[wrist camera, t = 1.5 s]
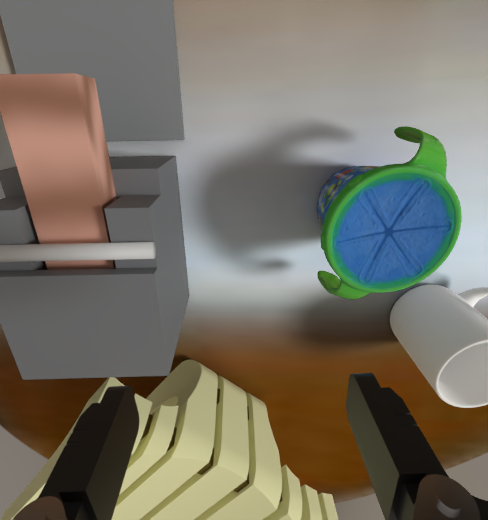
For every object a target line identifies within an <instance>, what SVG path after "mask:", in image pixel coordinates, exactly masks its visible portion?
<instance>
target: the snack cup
mask: <svg viewBox="0 0 488 520" xmlns="http://www.w3.org/2000/svg"><path fill="white" fill-rule="evenodd" d="M394 133H395V134H396V136H397V137H399V138H401V139H404V140H407V141H410V142H414V143H420V147H419V149H418V151H417V153H416V155H415V156H414V157H413V158H412V159H411V160H410V161H409V162H407V163H404V164H392V165H385V166H381V167H377V166H358V167H350V168H347V169H344V170H342V171H340V172H337V173H335V174H334V175H333V176H332V177H330V178H329V180H328V181H327V183H326V184H325V185H324V186H323V188H322V189H321V192H320V195H319V199H318V203H317V212H318V219H319V223H320V227H321V230H322V234H321V248H322V249H323V250H324V253H325V256H326V259H327V261H328V262H329V264H330V266H331V267H332V269H333V270H334V272H335V273H336V274H337V275H338V276H339V277H340V280H339V279H338V277H337V276H335V275H333V274H331V273H329V272H326V271H319V272H318V279H319V281H320V283H321V284H322V286H323V287H324V288H325V289H326V290H327V291H328V292H329V293H331V294H334V295H337V296H340V297H342V298H346V299H358V298H361V297H364V296H365V295H367V294H369V293H371V292H376V293H385V292H393V291H398V290H402V289H405V288H408V287H410V286H412V285H414V284H416V283H418V282H420V281H422V280H423V279H425V278H426V277H428V276H429V275H430V274H432V273H433V272H434V271H435V270H436V269H437V268H438V267H439V266H440V265H441V264H442V263H443V262H444V261H445V260H446V258H447V257H448V256H449V254H450V252H451V251H452V249H453V248H454V245H455V243H456V241H457V238H458V235H459V231H460V227H461V207H460V202H459V199H458V197H457V195H456V193H455V191H454V190H453V188H452V187H451V186H450V184H449V183H448V182H447V180H446V166H447V164H446V162H447V160H446V152H445V150H444V147H443V145H442V143H441V142H440V141H439V140H438V139H437V138H435V137H434V136H432V135H429V134H427V133H425V132H423V131H421V130H419V129H416V128H412V127H398V128H397V129H395V131H394Z"/></svg>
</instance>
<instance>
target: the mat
mask: <svg viewBox="0 0 488 520" xmlns="http://www.w3.org/2000/svg"><path fill="white" fill-rule="evenodd" d="M0 16H1V20H2V23H3V27H4V31H5V34H6V38H7V42H8V46H9V49H10V53H11V57H12V61H13V64H14V68H15V72H16V74H69V73H75V74H79V75H83V76H87V77H91V78H95V82H96V88H97V93H98V99H99V104H100V110H101V115H102V121H103V127H104V132H105V138H106V141H149V140H184V129H183V117H182V105H181V93H180V82H179V70H178V58H177V46H176V34H175V22H174V11H173V0H0Z"/></svg>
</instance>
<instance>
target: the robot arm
mask: <svg viewBox="0 0 488 520" xmlns="http://www.w3.org/2000/svg"><path fill="white" fill-rule="evenodd" d="M346 410H347V416H348V420H349V423H350V426H351V429H352V431H353V434H354V437H355V439H356V442H357V445H358V447H359V450H360V453H361V456H362V458H363V461H364V464H365V466H366V469H367V472H368V474H369V477H370V480H371V482H372V485H373V488H374V491H375V493H376V496H377V499H378V501H379V504H380V507H381V509H382V512H383V515H384V517H385V520H488V501H485V500H482V499H478V498H476V497H474V496H472V495H470V493H469V492H468V491H467V490H466V489H465V488H464V487H463V486H462V485H460V484H459V483H458V482H456V481H455V480H453V479H451V478H449V476H448V475H447V474H446V472H445V471H444V469H443V467H442V466H441V464H440V462H439V461H438V459H437V457H436V456H435V454H434V452H433V450H432V449H431V447H430V445H429V444H428V442H427V440H426V439H425V437H424V435H423V433H422V432H421V430H420V428H419V427H417V423H416V422H415V420H414V418H413V416H412V415H410V411H409V410H408V408H407V406H406V405H405V403H404V401H403V399H402V398H401V397H399V396H398V395H397V394H396V393H395V392H394V391H393V390H392V389H391V388H389V387H388V388H381V387H380V385H379V383H378V382H377V380H376V378H375V376H374V375H373V374H372V373H361V374H351V375H350V377H349V384H348V393H347V401H346ZM138 430H139V413H138V409H137V405H136V401H135V397H134V393H133V390H132V387H131V386H112V387H108V388H107V390H106V391H105V394H104V396H103V398H102V400H101V402H100V403H92V404H91V405H90V406H89V407H88V408H87V409H86V410H85V411H84V413H83V414H82V415H81V416H80V417H79V419H78V421H77V423H76V425H75V427H74V429H73V433H71V435H70V437H69V439H68V441H67V445H66V446H65V447H64V449H63V451H62V453H61V454H60V456H59V458H58V460H57V462H56V464H55V466H54V468H53V470H52V472H51V474H50V476H49V478H48V480H47V482H46V484H45V486H44V488H43V490H42V492H41V493H40V495H39V497H38V498H37V499H36V500H34V501H33V502H31V503H29V504H28V505H26V506H25V507H24V508H23V509H22V510H20V511H19V512H18V513H17V514H16V516H15V517H14V518H13V519H12V520H111V519H112V516H113V513H114V510H115V506H116V503H117V500H118V496H119V493H120V490H121V487H122V483H123V480H124V477H125V473H126V470H127V467H128V464H129V460H130V457H131V454H132V450H133V447H134V444H135V441H136V437H137V434H138Z"/></svg>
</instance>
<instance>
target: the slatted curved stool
mask: <svg viewBox="0 0 488 520" xmlns="http://www.w3.org/2000/svg"><path fill="white" fill-rule="evenodd" d="M112 386H125V385H123V384H122V383H121V382H119V381H118V380H117V379H116V378H115V377H109V378H108V379H107V380H106V381H105V382H104V383H103V384H102V386H101V387H100V388H99V389H98V390H97V391H96V392H95V393H94V395H93V396H92V397H91V398H90V399H89V400H88V402H87V403H86V405H85V407H84V409H83V410H82V412H81V414H80V415H79V417H80V416H81V415H82V414H83V413H84V411H85V410H86V409H87V408H88V407H89V406H90V405H91V404H92V403H100V402H101V400H102V398H103V396H104V394H105V391H106V390H107V388H108V387H112ZM134 397H135V401H136V405H137V409H138V413H139V430H138V434H137V437H136V441H135V444H134V447H133V450H132V454H131V457H130V460H129V464H128V467H127V470H126V473H125V477H124V480H123V483H122V487H121V490H120V493H119V496H118V500H117V503H116V506H115V510H114V513H113V516H112V519H111V520H338V517H337V513H336V509H335V505H334V501H333V497H332V494H325V493H321V494H319V495H317V491H316V490H314V489H312V488H310V487H308V486H307V485H304V486H302V487H301V488H300V482H299V479H298V478H297V477H296V476H295V475H294V474H293V473H292V472H291V471H290V469H289V468H288V467H287V465H284V466H283V467H282V468H281V466H280V458H279V450H278V448H277V445H276V442H275V440H274V437H273V434H272V430H271V427H270V423H269V420H268V415H267V409H266V405H265V403H264V402H262V401H261V400H259V399H257V398H256V397H254V396H253V395H251V394H249V393H247V392H245V391H244V390H243V389H241V388H239V387H238V386H236V385H234V384H233V383H231V382H230V381H228V380H226V379H225V378H223V377H221V376H220V375H217V374H216V373H215V372H213V371H212V370H210V369H208V368H207V367H205V366H203V365H202V364H200V363H199V362H197V361H195V360H185V361H183V362H181V363H180V364H179V365H178V366H177V367H176V368H175V369H174V370H173V371H172V372H171V373H170V374H169V376H167V377H166V378H165V379H164V380H163V382H162V383H161V384H160V385H159V386H158V387H157V388H156V389H155V390H154V391H153V392H152V393H151V394H150V395H149V396H148V397H147V398H146V399H144V398H143V397H141V396H139V395H138V394H136V393H135V395H134ZM79 417H78V419H79ZM78 419H77V420H76V422H75V424H74V425H73V427H72V428H71V430H70V431H69V433H68V434H67V436H66V437H65V439H64V440H63V442H62V443H61V445H60V446H59V447H58V449H57V450H56V451H55V453H54V454H53V455H52V457H51V458H50V459H49V461H48V462H47V463H46V465H45V466H44V467H43V468H42V469H41V471H40V472H39V473H38V474H37V475H36V477H35V478H34V479H33V480H32V482H31V483H30V484H29V485H28V486H27V487H26V488H25V490H24V491H23V492H22V493H21V494H20V495H19V497H18V498H17V499H16V500H15V501H14V502H13V503H12V504H11V506H10V507H9V508H8V509H7V510H6V511H5V513H4V514H3V516H2V518H1V520H12V519H13V518H14V517H15V516H16V514H17V513H18V512H19V511H20V510H22V509H23V508H24V507H25V506H26V505H28V504H29V503H31V502H33V501H34V500H36V499H37V498H38V497H39V495H40V493H41V492H42V490H43V488H44V486H45V484H46V482H47V480H48V478H49V476H50V474H51V472H52V470H53V468H54V466H55V464H56V462H57V460H58V458H59V456H60V454H61V453H62V451H63V449H64V447H65V446H66V445H67V441H68V439H69V437H70V435H71V433H73V429H74V427H75V425H76V423H77V421H78Z"/></svg>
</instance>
